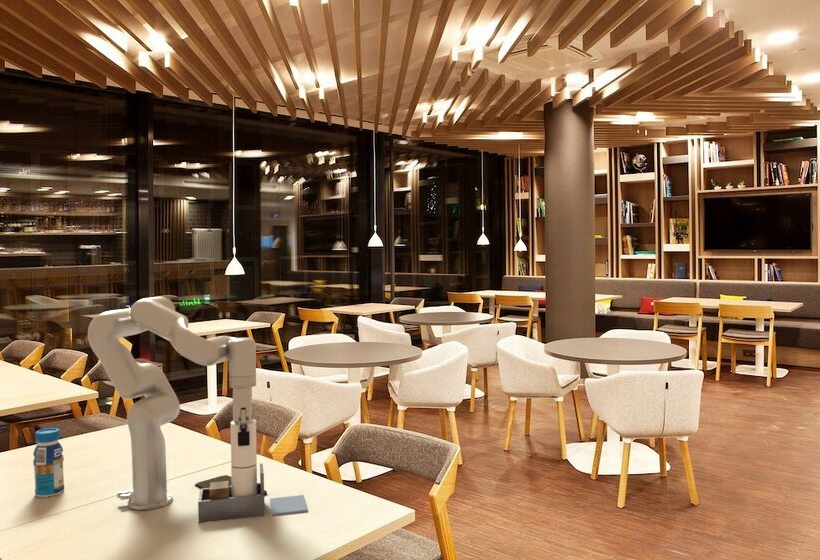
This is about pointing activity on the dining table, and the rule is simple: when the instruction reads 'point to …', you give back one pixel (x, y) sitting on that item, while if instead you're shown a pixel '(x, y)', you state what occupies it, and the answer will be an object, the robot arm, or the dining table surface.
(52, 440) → the beverage bottle
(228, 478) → the smartphone
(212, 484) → the walnut offcut upper
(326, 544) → the dining table surface
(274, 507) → the mat
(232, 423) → the cylindrical container
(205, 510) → the rack
